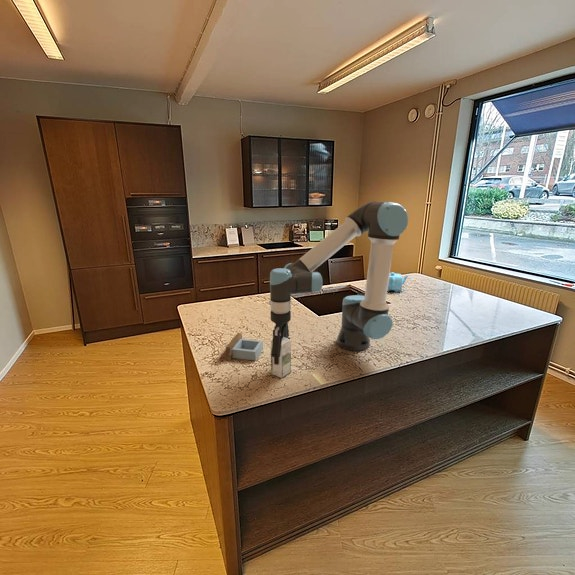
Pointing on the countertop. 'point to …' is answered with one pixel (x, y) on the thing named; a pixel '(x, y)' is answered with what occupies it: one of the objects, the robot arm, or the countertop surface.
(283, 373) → the syrup box
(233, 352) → the blue gray square tray
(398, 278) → the teapot
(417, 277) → the countertop surface
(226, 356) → the base
